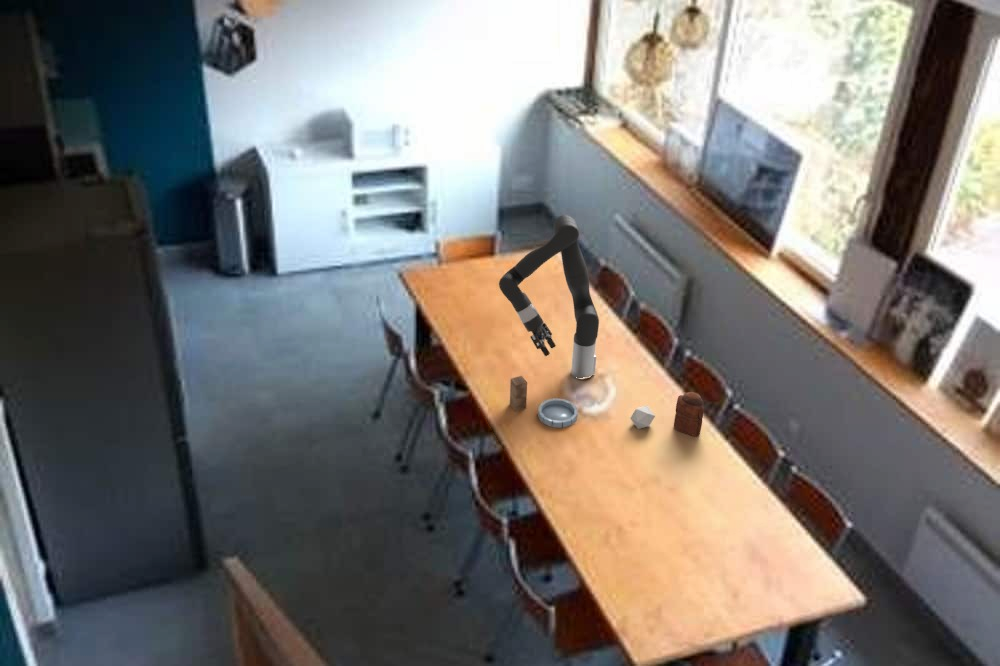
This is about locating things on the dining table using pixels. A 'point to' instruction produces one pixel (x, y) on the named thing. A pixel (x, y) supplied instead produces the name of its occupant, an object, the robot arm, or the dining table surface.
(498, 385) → the dining table surface
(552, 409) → the bowl
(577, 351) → the robot arm
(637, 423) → the die
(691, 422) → the wooden figurine
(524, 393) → the walnut block
